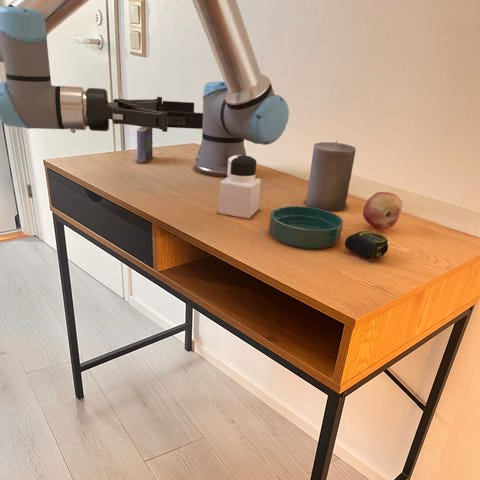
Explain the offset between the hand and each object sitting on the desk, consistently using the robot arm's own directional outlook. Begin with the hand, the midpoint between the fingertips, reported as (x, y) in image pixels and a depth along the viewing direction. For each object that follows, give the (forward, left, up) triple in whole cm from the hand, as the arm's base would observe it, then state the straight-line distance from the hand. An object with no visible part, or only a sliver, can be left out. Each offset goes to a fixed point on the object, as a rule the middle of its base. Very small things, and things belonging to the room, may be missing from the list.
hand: (198, 115), depth 98 cm
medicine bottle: (-7, +7, -20) cm, 22 cm away
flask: (-26, -39, -20) cm, 51 cm away
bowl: (-4, +25, -20) cm, 32 cm away
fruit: (-20, +35, -20) cm, 45 cm away
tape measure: (-3, +38, -20) cm, 43 cm away
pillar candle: (-27, +19, -20) cm, 38 cm away
